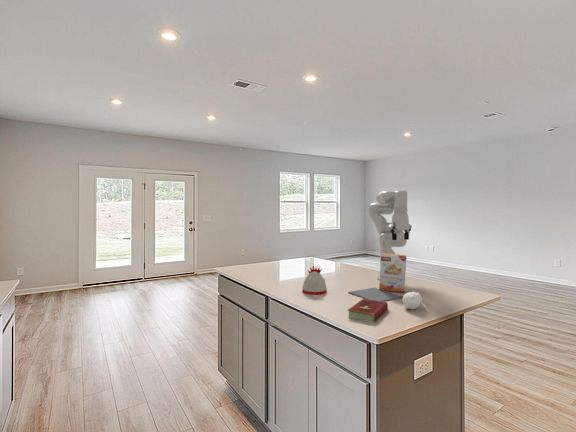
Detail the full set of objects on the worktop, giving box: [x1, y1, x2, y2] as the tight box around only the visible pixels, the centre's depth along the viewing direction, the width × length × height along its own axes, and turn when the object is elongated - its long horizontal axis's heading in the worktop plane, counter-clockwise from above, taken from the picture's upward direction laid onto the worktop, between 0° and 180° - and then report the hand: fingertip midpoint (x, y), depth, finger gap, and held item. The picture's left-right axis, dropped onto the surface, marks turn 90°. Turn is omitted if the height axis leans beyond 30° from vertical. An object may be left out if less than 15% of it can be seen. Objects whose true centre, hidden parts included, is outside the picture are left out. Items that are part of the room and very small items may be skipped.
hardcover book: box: [347, 298, 389, 323], centre depth 148 cm, size 12×21×4 cm, turn 148°
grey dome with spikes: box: [302, 265, 328, 296], centre depth 186 cm, size 14×14×15 cm
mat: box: [347, 287, 404, 302], centre depth 178 cm, size 20×22×1 cm
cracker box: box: [378, 253, 407, 293], centre depth 187 cm, size 14×6×21 cm, turn 73°
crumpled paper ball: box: [402, 291, 427, 310], centre depth 155 cm, size 9×11×12 cm
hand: (400, 239), depth 193 cm, fingers open, 9 cm apart
